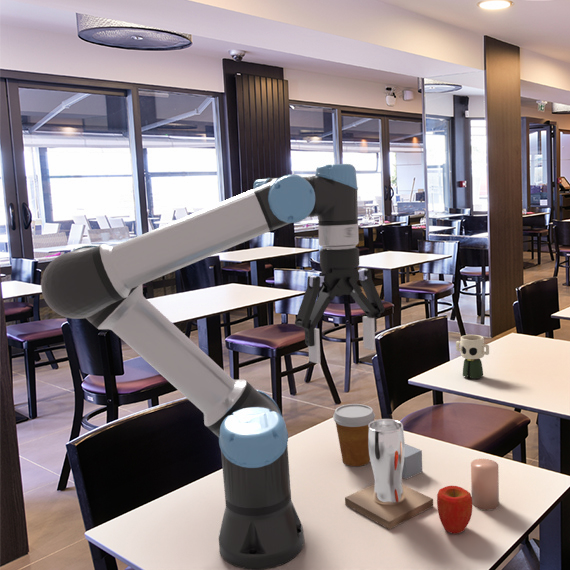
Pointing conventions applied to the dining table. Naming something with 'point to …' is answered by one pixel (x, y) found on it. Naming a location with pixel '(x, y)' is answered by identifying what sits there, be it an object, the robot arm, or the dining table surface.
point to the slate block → (412, 461)
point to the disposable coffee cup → (354, 432)
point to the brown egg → (485, 484)
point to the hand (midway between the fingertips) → (342, 355)
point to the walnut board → (389, 514)
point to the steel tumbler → (387, 460)
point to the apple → (454, 508)
